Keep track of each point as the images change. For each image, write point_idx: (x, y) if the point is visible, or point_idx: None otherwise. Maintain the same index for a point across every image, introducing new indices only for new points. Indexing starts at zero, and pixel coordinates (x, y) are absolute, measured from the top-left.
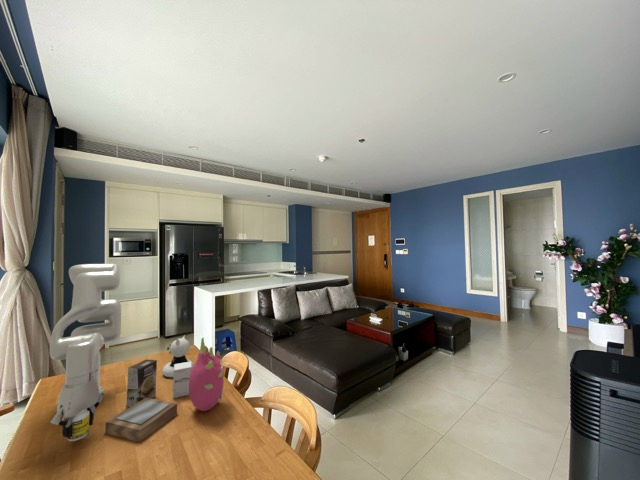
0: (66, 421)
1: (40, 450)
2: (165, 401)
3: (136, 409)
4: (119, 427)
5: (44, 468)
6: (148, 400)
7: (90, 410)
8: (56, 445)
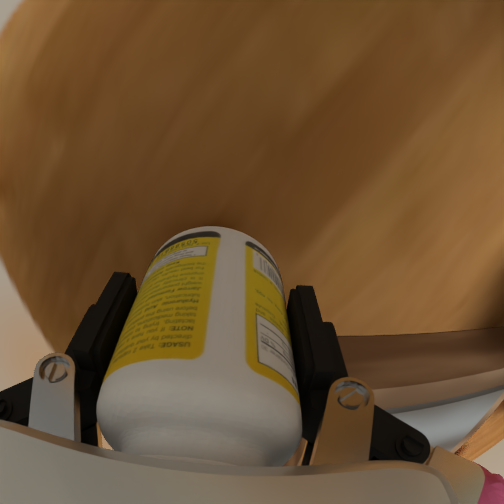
0: (79, 392)
1: (86, 93)
2: (465, 441)
3: (429, 426)
4: (301, 443)
5: (40, 290)
6: (495, 401)
7: (304, 454)
8: (148, 145)
